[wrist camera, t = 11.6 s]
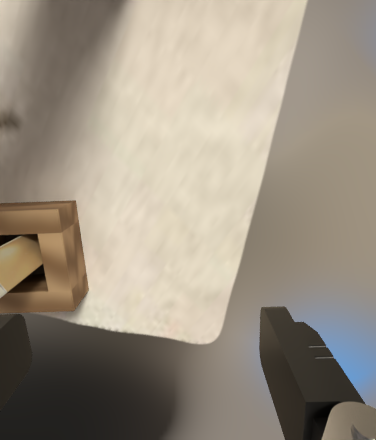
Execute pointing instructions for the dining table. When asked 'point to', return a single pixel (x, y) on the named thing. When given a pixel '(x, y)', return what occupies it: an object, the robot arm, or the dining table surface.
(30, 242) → the skincare box
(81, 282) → the socket block
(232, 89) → the dining table surface
